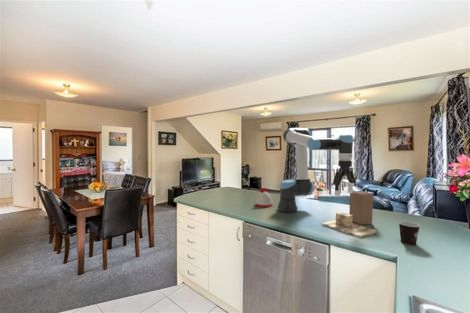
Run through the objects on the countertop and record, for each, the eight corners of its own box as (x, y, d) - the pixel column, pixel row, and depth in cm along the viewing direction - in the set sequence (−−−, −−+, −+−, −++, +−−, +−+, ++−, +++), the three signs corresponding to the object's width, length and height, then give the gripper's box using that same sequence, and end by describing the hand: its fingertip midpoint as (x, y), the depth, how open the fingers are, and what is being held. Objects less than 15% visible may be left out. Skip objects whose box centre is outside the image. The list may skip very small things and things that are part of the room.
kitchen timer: (253, 203, 202) (253, 186, 201) (266, 202, 207) (266, 185, 207) (261, 207, 189) (261, 189, 188) (275, 206, 195) (275, 188, 194)
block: (360, 225, 148) (361, 194, 147) (348, 220, 158) (349, 191, 157) (372, 224, 151) (373, 193, 150) (360, 219, 160) (361, 190, 159)
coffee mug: (409, 239, 126) (410, 221, 126) (423, 246, 118) (424, 226, 117) (388, 239, 126) (389, 221, 125) (400, 246, 117) (401, 227, 117)
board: (322, 225, 148) (322, 223, 148) (336, 220, 157) (337, 218, 157) (361, 238, 128) (361, 236, 128) (376, 232, 136) (376, 230, 136)
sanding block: (335, 224, 147) (335, 213, 146) (340, 222, 149) (340, 211, 149) (347, 227, 140) (347, 216, 140) (352, 226, 143) (352, 215, 142)
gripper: (338, 161, 133) (337, 198, 134) (362, 159, 147) (360, 193, 148) (327, 160, 139) (326, 195, 140) (350, 159, 153) (349, 191, 154)
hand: (343, 194), depth 144 cm, fingers open, 13 cm apart
